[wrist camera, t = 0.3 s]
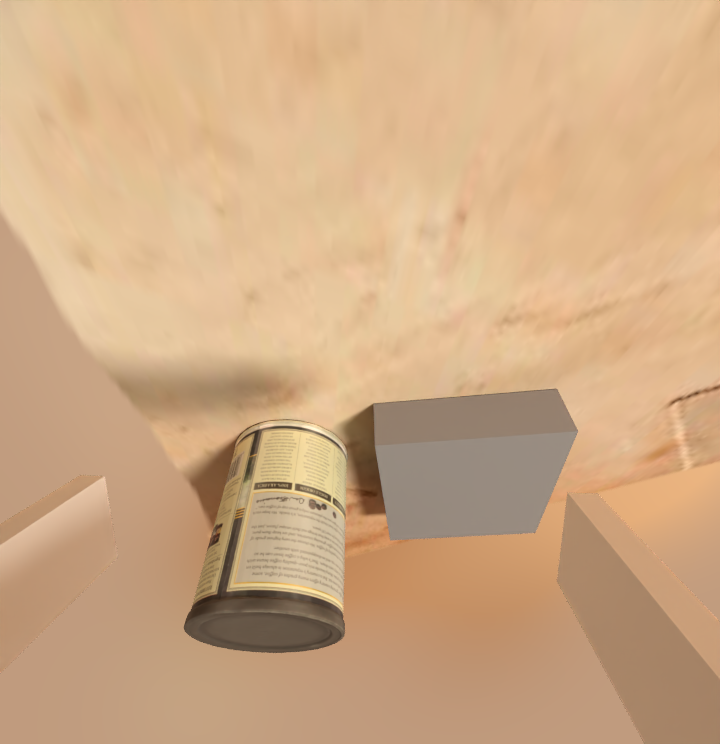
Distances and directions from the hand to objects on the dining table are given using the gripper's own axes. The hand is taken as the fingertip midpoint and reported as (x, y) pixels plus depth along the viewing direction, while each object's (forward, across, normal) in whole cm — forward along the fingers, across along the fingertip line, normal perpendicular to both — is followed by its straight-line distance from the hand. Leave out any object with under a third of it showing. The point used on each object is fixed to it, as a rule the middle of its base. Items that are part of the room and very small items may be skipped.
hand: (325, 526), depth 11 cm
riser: (+24, +8, -9) cm, 27 cm away
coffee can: (+23, -7, -8) cm, 26 cm away
